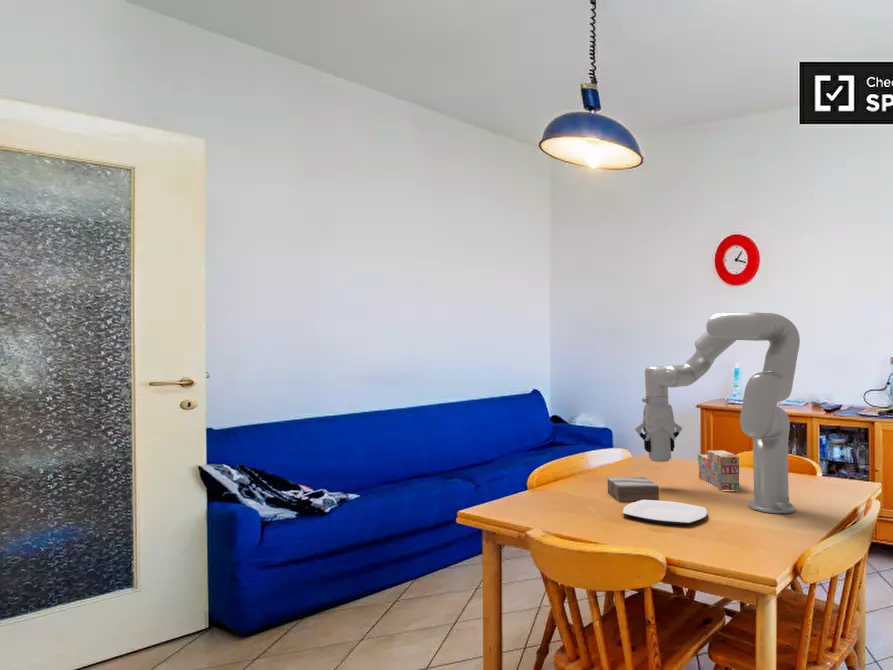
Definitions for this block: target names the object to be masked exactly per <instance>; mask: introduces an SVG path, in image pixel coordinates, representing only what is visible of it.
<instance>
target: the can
mask: <svg viewBox="0 0 893 670" xmlns="http://www.w3.org/2000/svg"><path fill="white" fill-rule="evenodd" d="M658 429H659V430H658V431H656V432H655V433H654V434H650V435H651V436H650V438H649V441H650V447H651V452H648V459H649V460H651V462H656V463H664V462H669V461H670V460H672V451H671V443H670V433H669V432H668V431H666V430H664V428H658Z"/></svg>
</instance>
